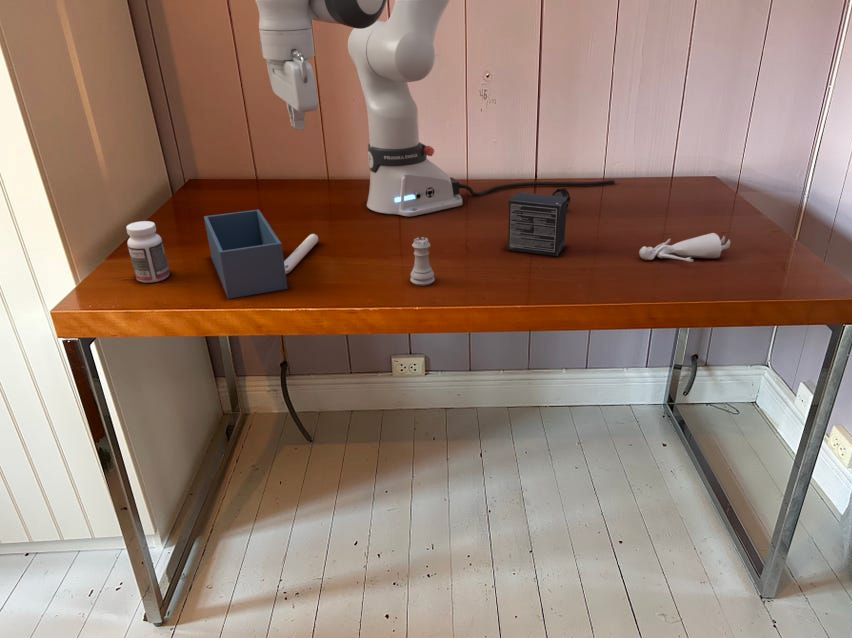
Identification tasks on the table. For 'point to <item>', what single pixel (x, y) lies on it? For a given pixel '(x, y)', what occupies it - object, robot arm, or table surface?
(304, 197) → the table surface
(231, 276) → the blue box
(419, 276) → the rook chess piece
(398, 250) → the table surface
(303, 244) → the marker
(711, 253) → the woman figurine
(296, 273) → the table surface
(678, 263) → the table surface
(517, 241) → the small box
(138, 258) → the pill bottle
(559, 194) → the smartwatch
